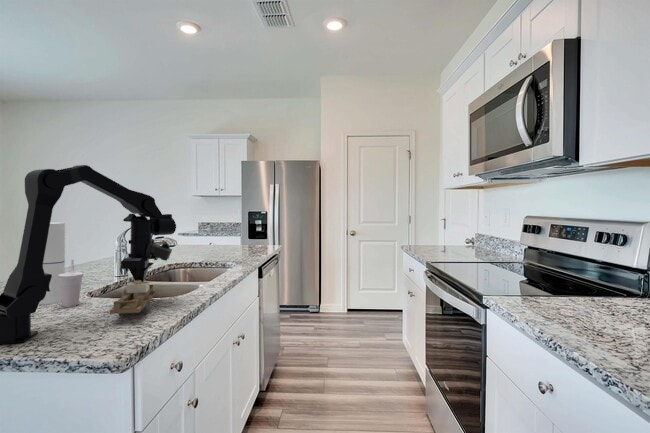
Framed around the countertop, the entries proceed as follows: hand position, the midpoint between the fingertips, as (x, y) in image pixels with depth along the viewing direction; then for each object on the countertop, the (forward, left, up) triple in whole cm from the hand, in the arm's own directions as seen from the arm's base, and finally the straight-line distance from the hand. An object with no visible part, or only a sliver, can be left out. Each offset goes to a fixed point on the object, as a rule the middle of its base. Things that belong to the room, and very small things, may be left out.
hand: (140, 287), depth 106 cm
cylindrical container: (+12, +29, -6) cm, 32 cm away
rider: (-3, 0, -2) cm, 4 cm away
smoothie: (+6, +21, -6) cm, 23 cm away
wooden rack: (-6, 0, -6) cm, 9 cm away
